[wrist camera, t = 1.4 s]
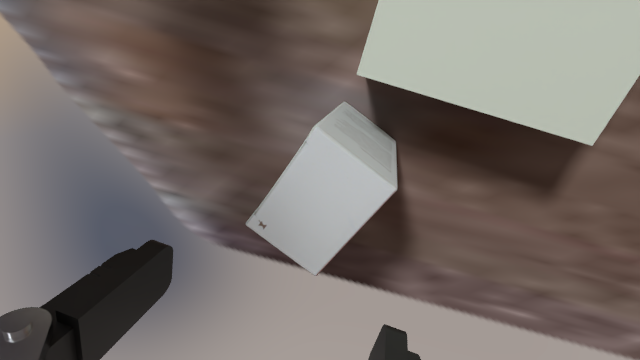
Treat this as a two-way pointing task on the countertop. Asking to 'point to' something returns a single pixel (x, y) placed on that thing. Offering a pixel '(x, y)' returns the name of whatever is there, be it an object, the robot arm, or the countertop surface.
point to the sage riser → (512, 57)
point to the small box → (328, 189)
